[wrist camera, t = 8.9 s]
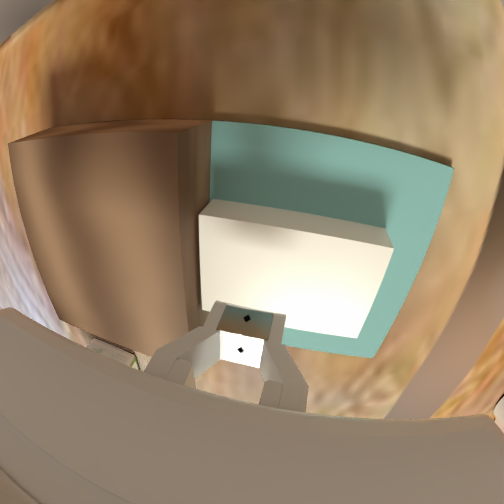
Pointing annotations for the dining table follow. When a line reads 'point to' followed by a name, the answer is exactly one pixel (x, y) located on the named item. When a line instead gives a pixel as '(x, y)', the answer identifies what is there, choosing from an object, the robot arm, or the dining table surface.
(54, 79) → the dining table surface
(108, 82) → the dining table surface
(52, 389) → the robot arm
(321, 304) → the cream rectangular block
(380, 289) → the mat
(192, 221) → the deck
